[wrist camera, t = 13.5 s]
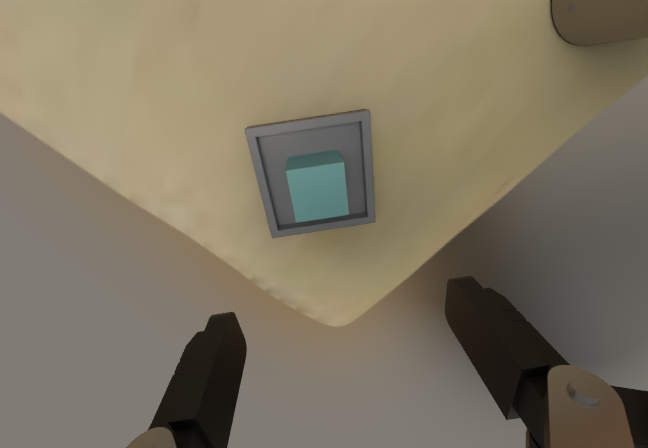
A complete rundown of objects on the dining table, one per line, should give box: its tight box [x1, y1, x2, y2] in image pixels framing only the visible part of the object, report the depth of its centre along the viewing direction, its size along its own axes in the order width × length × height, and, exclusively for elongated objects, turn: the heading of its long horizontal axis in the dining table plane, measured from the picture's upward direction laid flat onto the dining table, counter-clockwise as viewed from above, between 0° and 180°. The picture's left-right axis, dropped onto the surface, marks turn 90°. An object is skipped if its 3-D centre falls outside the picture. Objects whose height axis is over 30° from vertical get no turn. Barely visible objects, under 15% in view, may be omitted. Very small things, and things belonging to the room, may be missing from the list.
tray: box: [244, 109, 375, 238], centre depth 28 cm, size 12×12×2 cm
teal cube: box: [286, 150, 349, 223], centre depth 26 cm, size 5×5×5 cm
